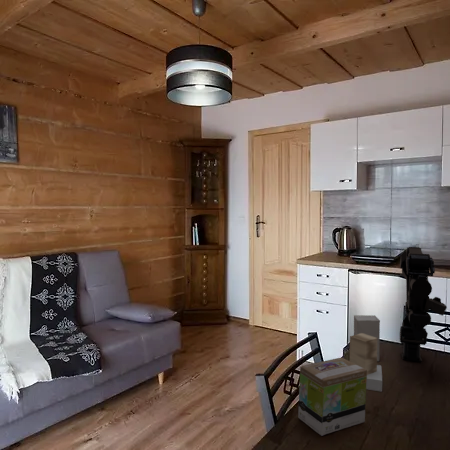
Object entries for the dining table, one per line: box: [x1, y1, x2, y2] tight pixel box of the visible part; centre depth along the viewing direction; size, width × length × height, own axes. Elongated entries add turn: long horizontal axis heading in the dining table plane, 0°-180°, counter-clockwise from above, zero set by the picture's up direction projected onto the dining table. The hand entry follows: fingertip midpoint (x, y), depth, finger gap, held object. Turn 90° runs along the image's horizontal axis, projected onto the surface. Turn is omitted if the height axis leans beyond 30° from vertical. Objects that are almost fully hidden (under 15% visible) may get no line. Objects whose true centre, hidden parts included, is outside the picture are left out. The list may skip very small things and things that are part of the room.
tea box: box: [297, 356, 367, 437], centre depth 107 cm, size 15×10×15 cm
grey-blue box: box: [366, 364, 383, 392], centre depth 131 cm, size 12×12×4 cm
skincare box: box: [353, 314, 381, 362], centre depth 149 cm, size 8×7×16 cm
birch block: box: [349, 333, 378, 375], centre depth 130 cm, size 6×6×11 cm
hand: (416, 336), depth 136 cm, fingers open, 9 cm apart
